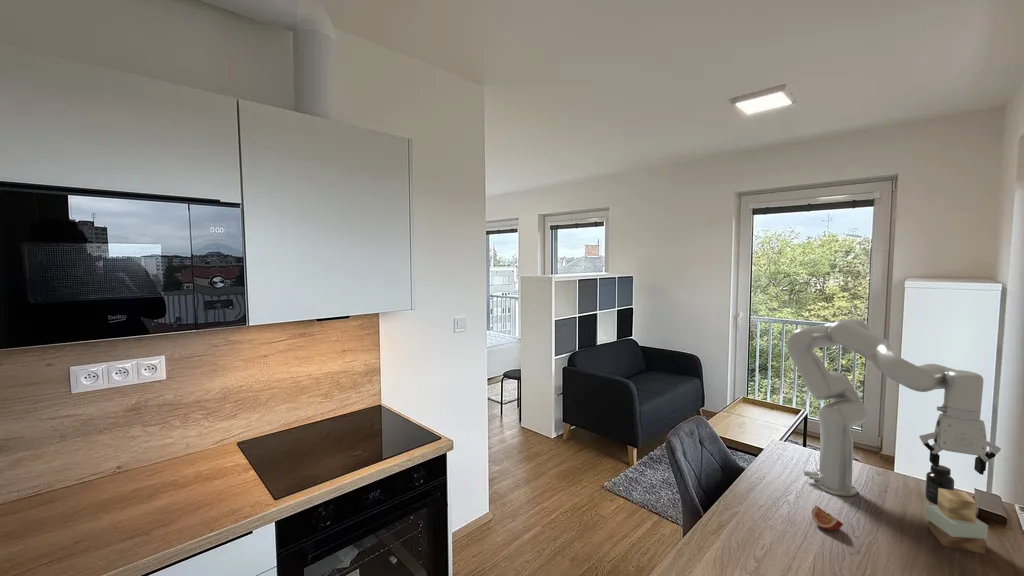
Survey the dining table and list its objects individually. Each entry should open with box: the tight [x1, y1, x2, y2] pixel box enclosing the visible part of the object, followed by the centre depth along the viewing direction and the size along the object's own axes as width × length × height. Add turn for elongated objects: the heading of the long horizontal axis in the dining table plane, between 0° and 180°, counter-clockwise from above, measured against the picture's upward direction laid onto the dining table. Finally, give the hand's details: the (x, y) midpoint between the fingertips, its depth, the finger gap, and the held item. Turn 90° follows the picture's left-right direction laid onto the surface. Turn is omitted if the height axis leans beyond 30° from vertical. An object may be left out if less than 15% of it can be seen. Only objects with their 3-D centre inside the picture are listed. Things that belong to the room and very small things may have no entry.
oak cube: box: [936, 488, 977, 523], centre depth 125 cm, size 6×6×6 cm
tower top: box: [925, 504, 989, 540], centre depth 125 cm, size 9×9×4 cm
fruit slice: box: [811, 505, 844, 532], centre depth 132 cm, size 8×7×5 cm
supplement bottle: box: [924, 463, 955, 505], centre depth 145 cm, size 7×7×12 cm
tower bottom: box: [928, 520, 987, 555], centre depth 125 cm, size 9×9×4 cm
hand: (956, 468), depth 125 cm, fingers open, 9 cm apart
